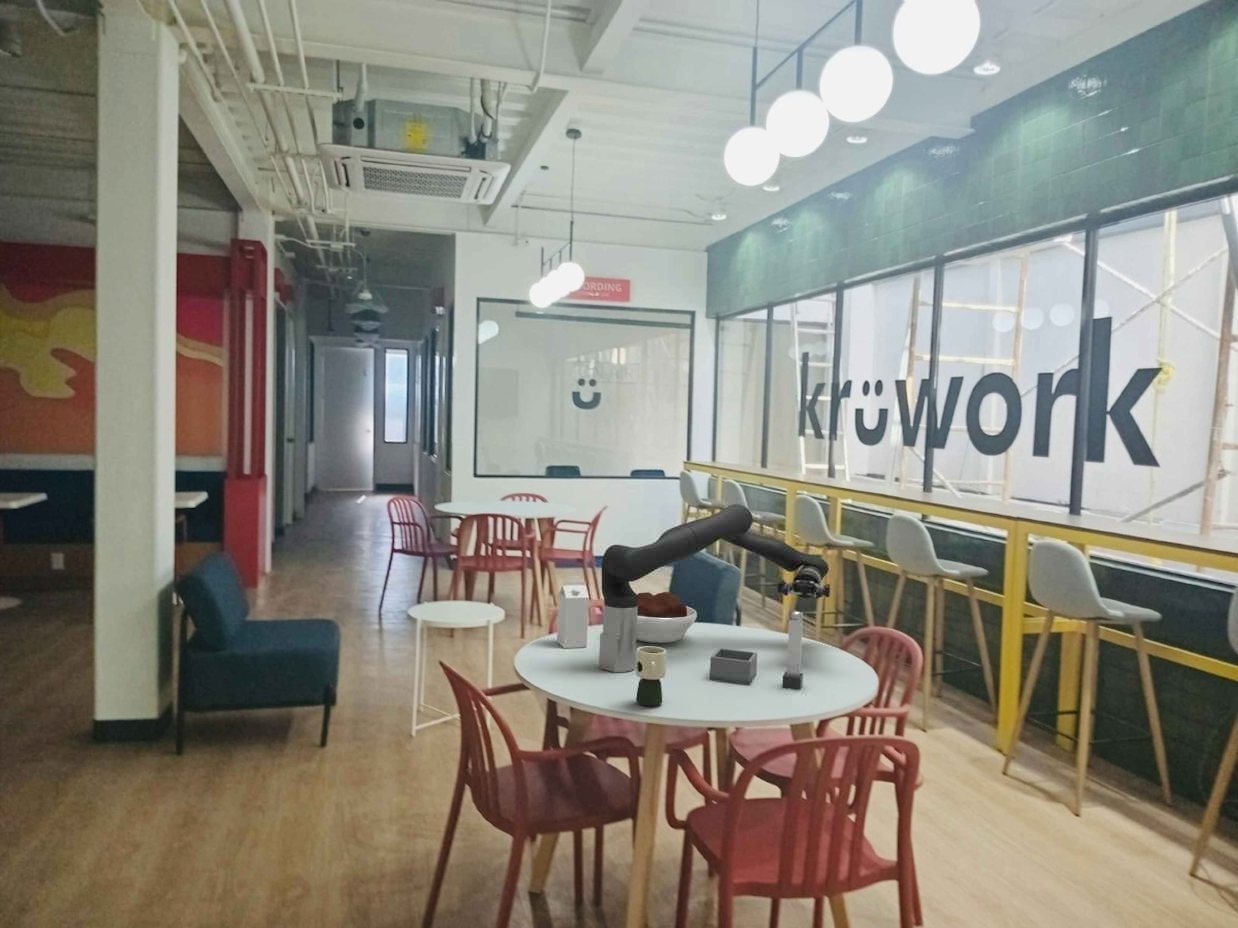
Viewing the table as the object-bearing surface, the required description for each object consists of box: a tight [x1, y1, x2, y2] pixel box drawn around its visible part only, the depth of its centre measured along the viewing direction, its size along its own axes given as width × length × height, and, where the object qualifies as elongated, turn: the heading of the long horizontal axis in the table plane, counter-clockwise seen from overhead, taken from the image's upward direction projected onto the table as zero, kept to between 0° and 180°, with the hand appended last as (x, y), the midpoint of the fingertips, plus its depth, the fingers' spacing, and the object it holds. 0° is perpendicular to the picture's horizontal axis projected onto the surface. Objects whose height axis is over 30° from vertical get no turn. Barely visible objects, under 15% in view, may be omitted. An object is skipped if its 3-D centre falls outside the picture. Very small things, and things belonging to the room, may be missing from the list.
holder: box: [709, 647, 758, 686], centre depth 231 cm, size 11×11×6 cm
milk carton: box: [556, 581, 590, 649], centre depth 257 cm, size 7×7×19 cm
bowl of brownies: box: [636, 591, 698, 644], centre depth 268 cm, size 25×25×15 cm
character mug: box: [635, 645, 667, 707], centre depth 205 cm, size 11×7×13 cm, turn 3°
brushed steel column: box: [781, 610, 804, 690], centre depth 225 cm, size 5×5×20 cm
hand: (801, 593), depth 235 cm, fingers open, 8 cm apart
